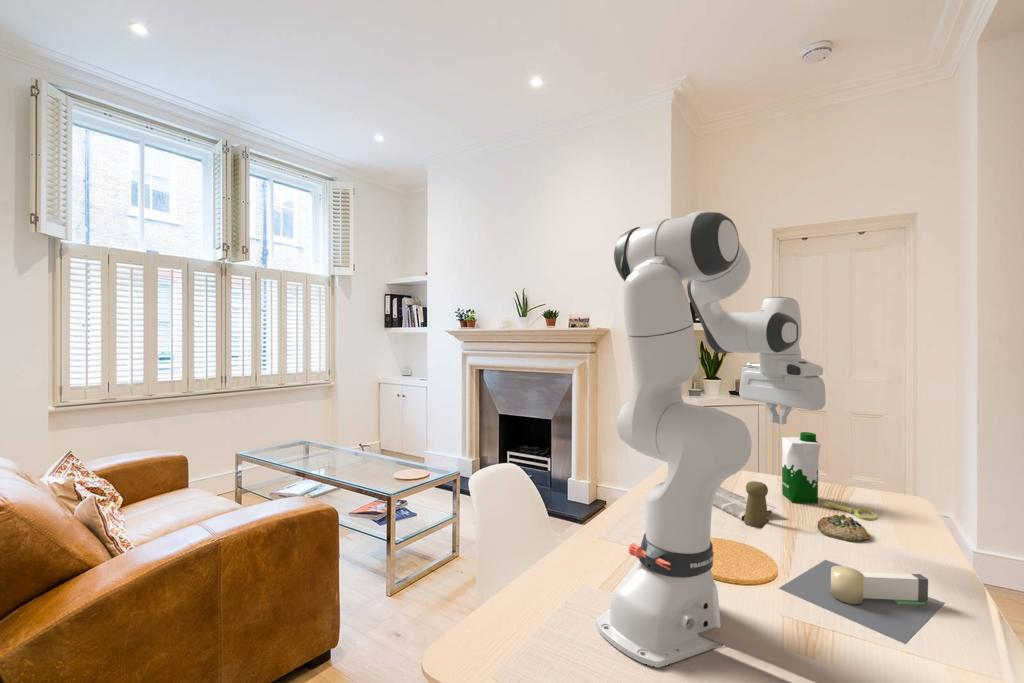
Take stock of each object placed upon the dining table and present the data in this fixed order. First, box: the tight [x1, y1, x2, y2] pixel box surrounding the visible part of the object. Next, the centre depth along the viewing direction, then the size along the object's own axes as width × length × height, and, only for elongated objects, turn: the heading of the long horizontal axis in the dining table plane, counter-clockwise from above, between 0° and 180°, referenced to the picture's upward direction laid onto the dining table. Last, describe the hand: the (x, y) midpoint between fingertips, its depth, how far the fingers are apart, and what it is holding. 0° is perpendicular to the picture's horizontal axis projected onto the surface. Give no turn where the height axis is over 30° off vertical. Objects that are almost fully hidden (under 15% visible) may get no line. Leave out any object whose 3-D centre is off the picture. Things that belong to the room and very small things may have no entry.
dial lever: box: [831, 565, 929, 604], centre depth 90 cm, size 16×5×5 cm, turn 85°
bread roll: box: [817, 514, 871, 542], centre depth 122 cm, size 11×11×5 cm
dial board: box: [778, 559, 946, 645], centre depth 92 cm, size 20×20×2 cm
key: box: [823, 500, 878, 522], centre depth 135 cm, size 7×12×2 cm, turn 63°
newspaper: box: [664, 478, 778, 521], centre depth 148 cm, size 35×12×4 cm, turn 18°
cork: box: [743, 480, 770, 529], centre depth 128 cm, size 6×6×11 cm
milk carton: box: [781, 431, 822, 505], centre depth 146 cm, size 9×9×20 cm
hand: (778, 423), depth 116 cm, fingers closed
